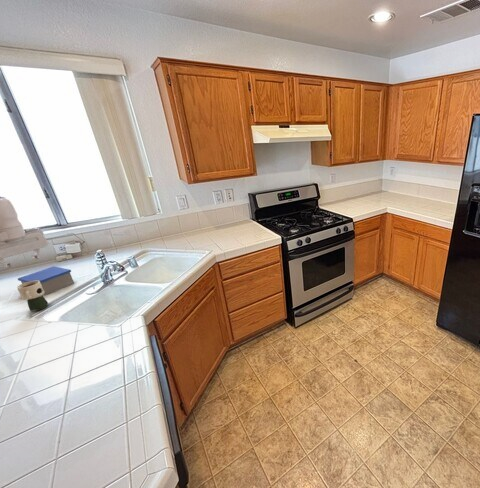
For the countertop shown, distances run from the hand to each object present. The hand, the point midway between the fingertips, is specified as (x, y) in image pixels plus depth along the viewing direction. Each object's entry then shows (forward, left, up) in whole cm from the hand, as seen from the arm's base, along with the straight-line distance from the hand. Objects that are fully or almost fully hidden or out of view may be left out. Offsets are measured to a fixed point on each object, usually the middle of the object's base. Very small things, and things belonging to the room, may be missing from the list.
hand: (22, 263), depth 116 cm
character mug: (-1, 0, -23) cm, 23 cm away
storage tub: (+13, +20, -23) cm, 33 cm away
